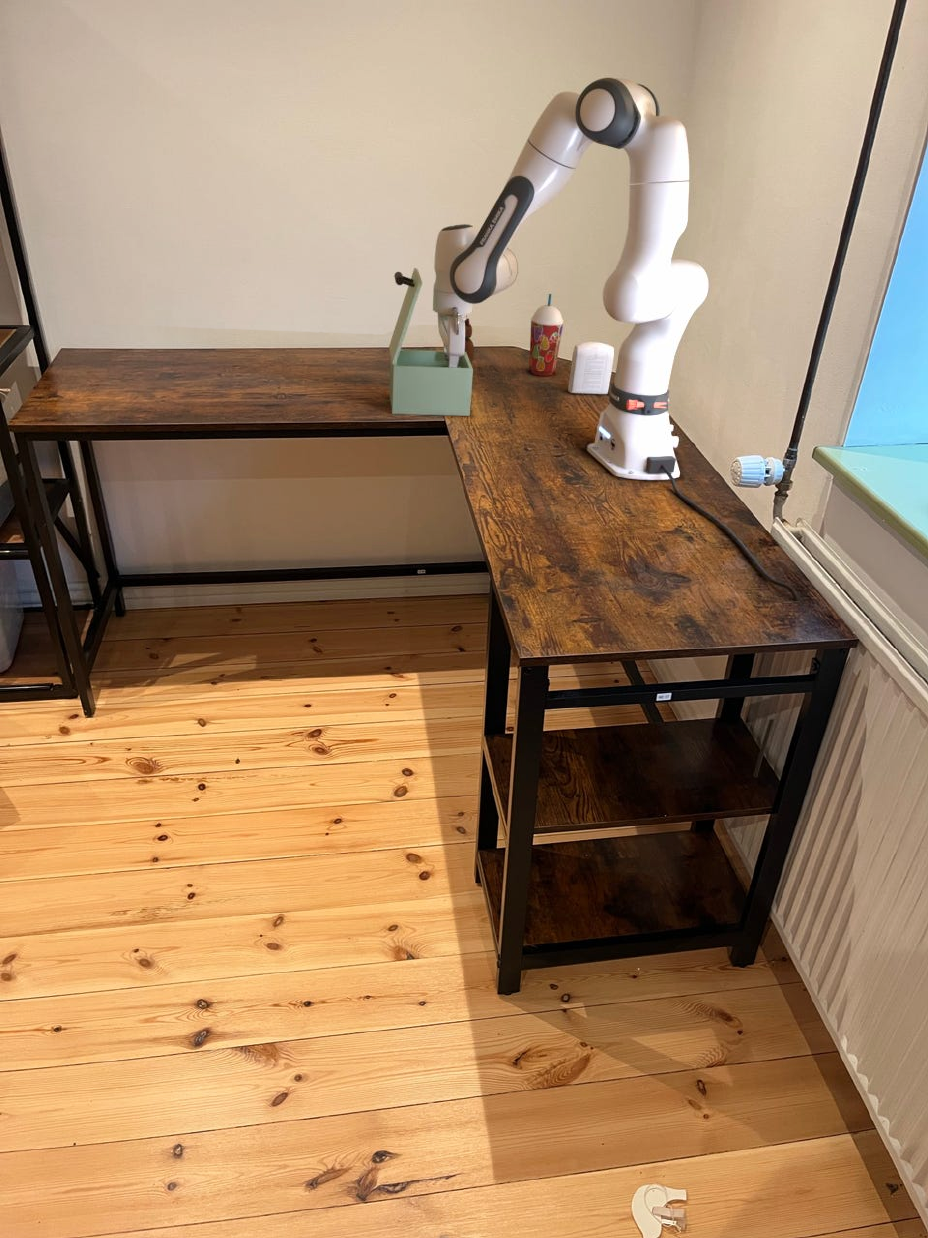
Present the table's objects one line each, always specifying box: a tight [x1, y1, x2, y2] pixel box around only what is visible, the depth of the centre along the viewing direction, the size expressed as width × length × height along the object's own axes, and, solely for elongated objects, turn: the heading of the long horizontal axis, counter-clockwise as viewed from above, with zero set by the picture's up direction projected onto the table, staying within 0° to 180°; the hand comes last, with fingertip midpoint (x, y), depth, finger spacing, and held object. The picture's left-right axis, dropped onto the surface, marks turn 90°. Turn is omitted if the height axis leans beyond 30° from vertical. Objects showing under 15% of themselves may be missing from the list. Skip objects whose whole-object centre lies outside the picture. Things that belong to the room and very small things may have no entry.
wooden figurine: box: [464, 317, 475, 364], centre depth 247 cm, size 7×6×15 cm
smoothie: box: [528, 293, 565, 377], centre depth 246 cm, size 8×8×20 cm
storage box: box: [388, 348, 474, 417], centre depth 220 cm, size 18×14×11 cm
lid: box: [388, 267, 423, 365], centre depth 211 cm, size 18×14×5 cm
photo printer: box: [567, 341, 615, 395], centre depth 237 cm, size 10×4×12 cm, turn 98°
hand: (450, 365), depth 218 cm, fingers open, 8 cm apart
